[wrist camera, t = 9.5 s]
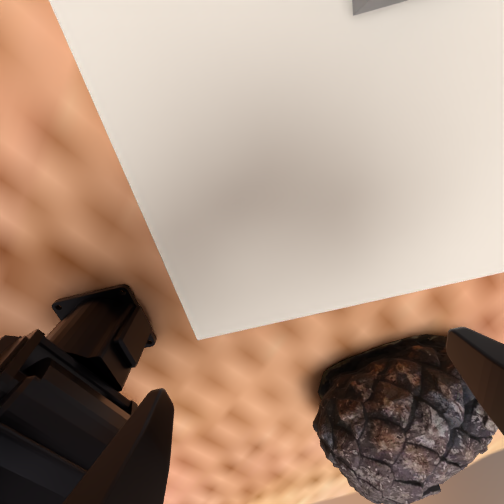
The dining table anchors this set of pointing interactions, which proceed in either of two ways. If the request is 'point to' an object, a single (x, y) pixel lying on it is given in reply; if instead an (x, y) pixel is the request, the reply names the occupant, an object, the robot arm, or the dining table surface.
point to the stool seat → (303, 145)
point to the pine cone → (400, 420)
